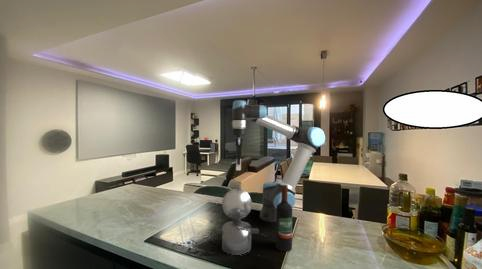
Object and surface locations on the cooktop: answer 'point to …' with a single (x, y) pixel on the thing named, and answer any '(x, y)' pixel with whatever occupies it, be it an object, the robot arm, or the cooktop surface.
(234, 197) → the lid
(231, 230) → the pot
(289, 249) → the wine bottle
